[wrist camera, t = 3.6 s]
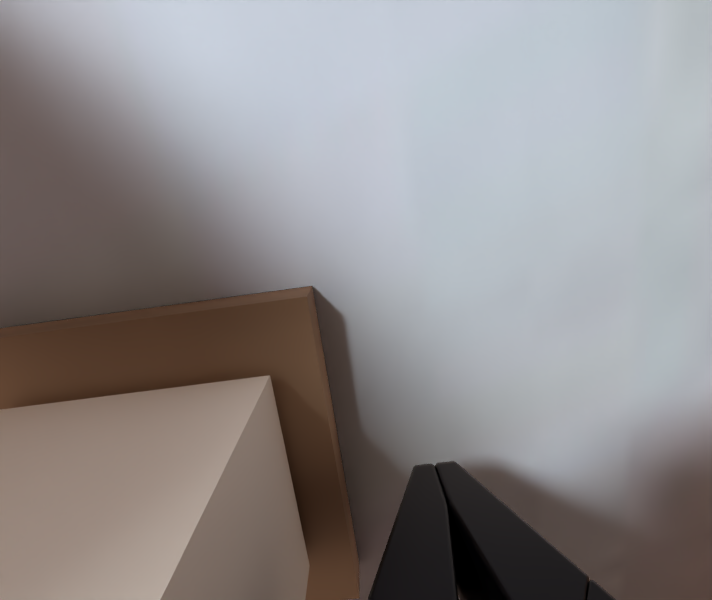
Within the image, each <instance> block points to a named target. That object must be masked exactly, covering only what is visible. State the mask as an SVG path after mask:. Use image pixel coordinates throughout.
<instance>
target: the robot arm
mask: <svg viewBox="0 0 712 600" xmlns="http://www.w3.org/2000/svg"><path fill="white" fill-rule="evenodd" d="M458 596H459V599H460V600H616V599H614V598H613V597H612V596H611V595H610V594H609V593H607V592H606V591H605V590H604V589H603V588H602V587H600V586H599V585H598V584H597V583H596V582H595V581H593V580H590V581H589V577H588V576H587V575H586V574H585V573H584V572H583V571H582V570H580V569H579V568H578V567H577V566H576V565H575V564H573V563H572V562H571V561H570V560H569V559H568V558H567V557H565V556H564V555H563V554H562V553H561V552H560V551H558V550H557V549H556V548H555V547H554V546H553V545H551V544H550V543H549V542H548V541H547V540H546V539H544V538H543V537H542V536H541V535H540V534H539V533H538V532H536V531H535V530H534V529H533V528H532V527H531V526H529V525H528V524H527V523H526V522H525V521H524V520H522V519H521V518H520V517H519V516H518V515H517V514H515V513H514V512H513V511H512V510H511V509H510V508H509V507H507V506H506V505H505V504H504V503H503V502H502V501H500V500H499V499H498V498H497V497H496V496H495V495H493V494H492V493H491V492H490V491H489V490H488V489H486V488H485V487H484V486H483V485H482V484H481V483H480V482H478V481H477V480H476V479H475V478H474V477H473V476H471V475H470V474H469V473H468V472H467V471H466V470H464V469H463V468H462V467H461V466H460V465H459V464H457V463H456V462H454V461H450V462H441V463H436V465H435V466H434V465H433V464H422V465H415V466H414V467H413V470H412V473H411V476H410V478H409V481H408V484H407V487H406V490H405V493H404V496H403V499H402V502H401V504H400V507H399V510H398V513H397V516H396V519H395V522H394V525H393V528H392V530H391V533H390V536H389V539H388V542H387V545H386V548H385V551H384V554H383V557H382V559H381V562H380V565H379V568H378V571H377V574H376V577H375V580H374V583H373V585H372V588H371V591H370V594H369V597H368V600H459V599H458Z"/></svg>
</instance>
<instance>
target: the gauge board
mask: <svg viewBox="0 0 712 600" xmlns="http://www.w3.org/2000/svg"><path fill="white" fill-rule="evenodd" d="M268 375H270V377H271V382H272V387H273V392H274V397H275V401H276V406H277V411H278V416H279V421H280V425H281V430H282V435H283V440H284V445H285V449H286V454H287V459H288V464H289V469H290V474H291V478H292V483H293V488H294V493H295V498H296V502H297V507H298V512H299V517H300V522H301V526H302V531H303V536H304V541H305V546H306V550H307V555H308V560H309V565H310V567H309V575H308V583H307V590H306V598H305V600H347V599H356V598H359V559H358V553H357V547H356V541H355V535H354V529H353V523H352V517H351V511H350V506H349V500H348V494H347V488H346V482H345V476H344V470H343V464H342V459H341V453H340V447H339V441H338V435H337V429H336V423H335V417H334V411H333V406H332V400H331V394H330V388H329V382H328V376H327V370H326V364H325V358H324V353H323V347H322V341H321V335H320V329H319V323H318V317H317V311H316V306H315V300H314V294H313V288H312V286H308V287H301V288H294V289H286V290H279V291H272V292H264V293H257V294H249V295H242V296H235V297H227V298H220V299H212V300H205V301H198V302H190V303H183V304H176V305H168V306H161V307H153V308H146V309H139V310H131V311H124V312H116V313H109V314H102V315H94V316H87V317H80V318H72V319H65V320H57V321H50V322H43V323H35V324H28V325H20V326H13V327H6V328H0V410H1V409H8V408H16V407H24V406H32V405H40V404H48V403H56V402H63V401H71V400H79V399H87V398H95V397H103V396H111V395H118V394H126V393H134V392H142V391H150V390H158V389H166V388H174V387H181V386H189V385H197V384H205V383H213V382H221V381H229V380H236V379H244V378H252V377H260V376H268Z"/></svg>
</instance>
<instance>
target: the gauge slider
mask: <svg viewBox="0 0 712 600" xmlns="http://www.w3.org/2000/svg"><path fill="white" fill-rule="evenodd" d="M309 567H310V565H309V560H308V555H307V550H306V546H305V541H304V536H303V531H302V526H301V522H300V517H299V512H298V507H297V502H296V498H295V493H294V488H293V483H292V478H291V474H290V469H289V464H288V459H287V454H286V449H285V445H284V440H283V435H282V430H281V425H280V421H279V416H278V411H277V406H276V401H275V397H274V392H273V387H272V382H271V377H270V375H268V376H260V377H252V378H244V379H236V380H229V381H221V382H213V383H205V384H197V385H189V386H181V387H174V388H166V389H158V390H150V391H142V392H134V393H126V394H118V395H111V396H103V397H95V398H87V399H79V400H71V401H63V402H56V403H48V404H40V405H32V406H24V407H16V408H8V409H1V410H0V600H305V598H306V590H307V583H308V575H309Z"/></svg>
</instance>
